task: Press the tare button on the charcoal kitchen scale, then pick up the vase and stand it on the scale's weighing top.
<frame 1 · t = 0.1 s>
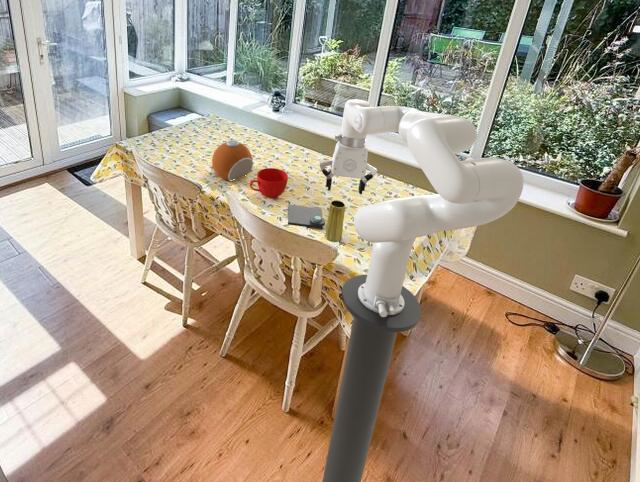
hand: (344, 190, 131), 25 cm above the table, tool pointing down, fingers open, 9 cm apart
vase: (333, 237, 149), on the table
scale: (304, 217, 162), on the table
ceramic cup: (267, 196, 178), on the table
alarm clock: (231, 175, 195), on the table
tare button: (317, 219, 156), point 3 cm above the table, slide at 0.2 cm
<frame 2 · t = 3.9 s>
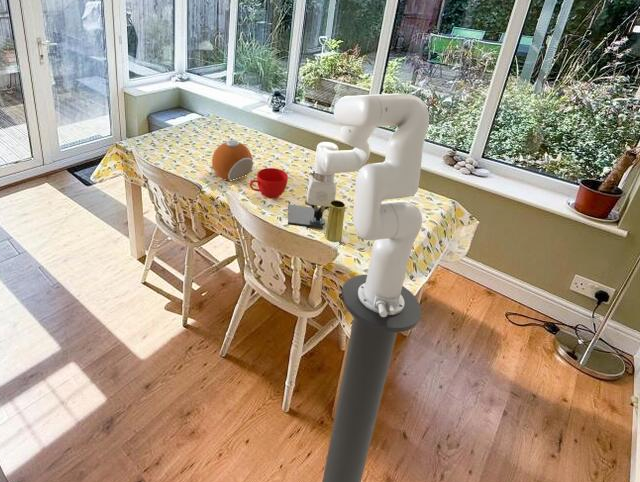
hand: (317, 219, 156), 3 cm above the table, tool pointing down, fingers closed
tare button: (317, 221, 156), point 2 cm above the table, slide at -0.6 cm, touching gripper
everything else where it was.
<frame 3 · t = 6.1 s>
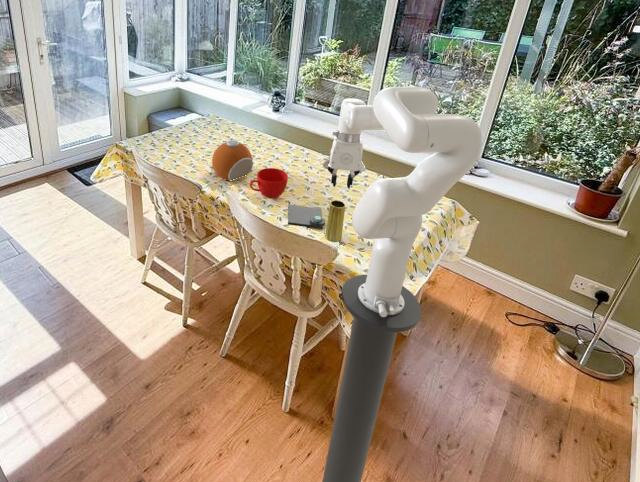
hand: (341, 185, 142), 21 cm above the table, tool pointing down, fingers open, 4 cm apart
tare button: (317, 219, 156), point 3 cm above the table, slide at 0.1 cm
everything else where it was.
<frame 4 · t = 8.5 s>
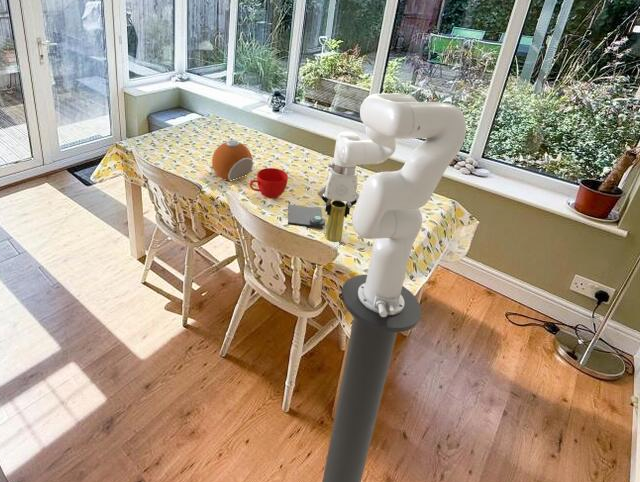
hand: (336, 214, 146), 10 cm above the table, tool pointing down, fingers closed on vase, 5 cm apart
vase: (333, 237, 149), on the table, touching gripper
everything else where it was.
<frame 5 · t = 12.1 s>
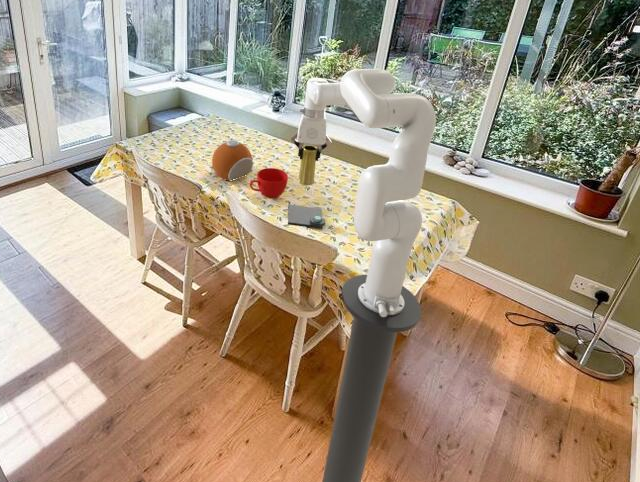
hand: (308, 158, 155), 25 cm above the table, tool pointing down, fingers closed on vase, 5 cm apart
vase: (305, 182, 158), point 15 cm above the table, touching gripper
everything else where it was.
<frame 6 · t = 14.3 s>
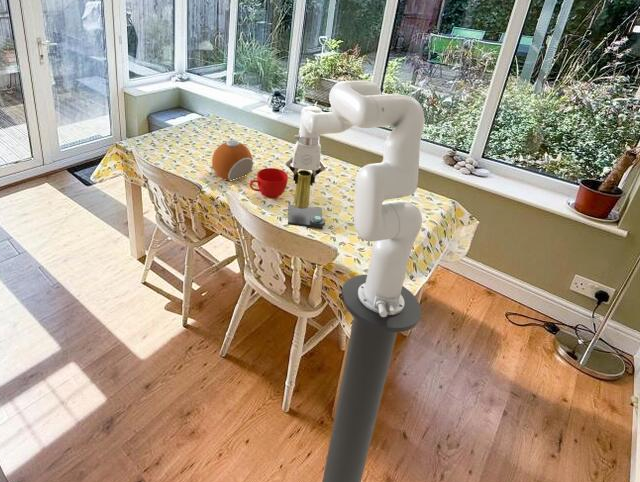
hand: (303, 182, 159), 14 cm above the table, tool pointing down, fingers closed on vase, 5 cm apart
vase: (300, 205, 163), point 4 cm above the table, touching gripper
everything else where it was.
when the fingers open (11 cm above the table, at t = 15.7 s): vase stays where it is, resting on scale.
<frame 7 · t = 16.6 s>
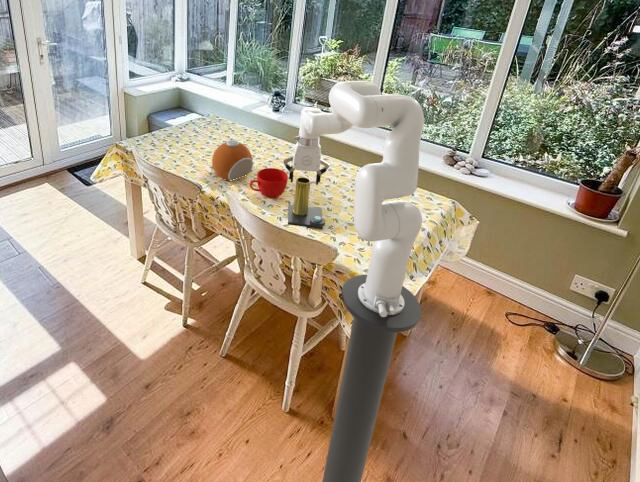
hand: (304, 182, 159), 14 cm above the table, tool pointing down, fingers open, 9 cm apart
vase: (300, 212, 164), point 1 cm above the table, touching scale
everything else where it was.
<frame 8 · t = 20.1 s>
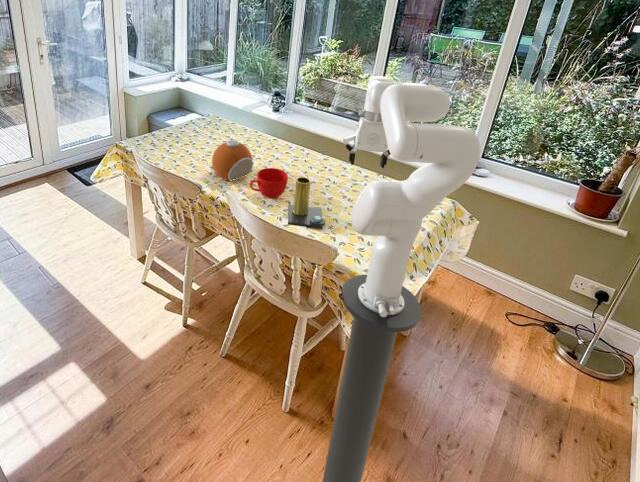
hand: (366, 164, 137), 30 cm above the table, tool pointing down, fingers open, 9 cm apart
nothing on the table moved.
at the end: tare button pushed in 0.7 cm at the most during the clip, back to where it started at the end; vase inside the target area on the scale (2.8 cm from its centre), point 1.0 cm above the scale's base; vase touching scale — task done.
